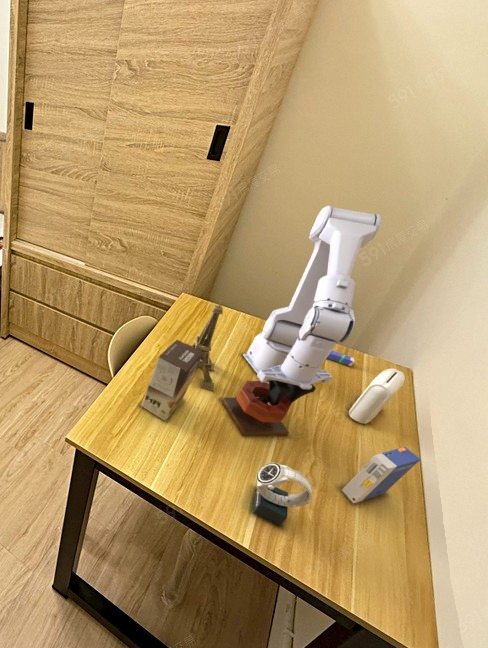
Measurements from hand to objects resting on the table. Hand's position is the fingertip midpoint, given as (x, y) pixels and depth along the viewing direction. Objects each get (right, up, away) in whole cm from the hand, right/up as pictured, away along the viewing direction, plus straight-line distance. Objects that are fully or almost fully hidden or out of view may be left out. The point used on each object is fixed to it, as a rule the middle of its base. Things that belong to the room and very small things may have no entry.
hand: (277, 402), depth 91 cm
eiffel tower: (-12, +4, +15) cm, 20 cm away
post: (-4, -4, +3) cm, 6 cm away
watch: (-13, -16, -14) cm, 25 cm away
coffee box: (-24, -2, +6) cm, 25 cm away
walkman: (+8, -15, -12) cm, 21 cm away
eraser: (+31, +6, +20) cm, 37 cm away
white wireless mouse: (+24, -4, +5) cm, 25 cm away
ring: (-3, -1, +1) cm, 4 cm away
